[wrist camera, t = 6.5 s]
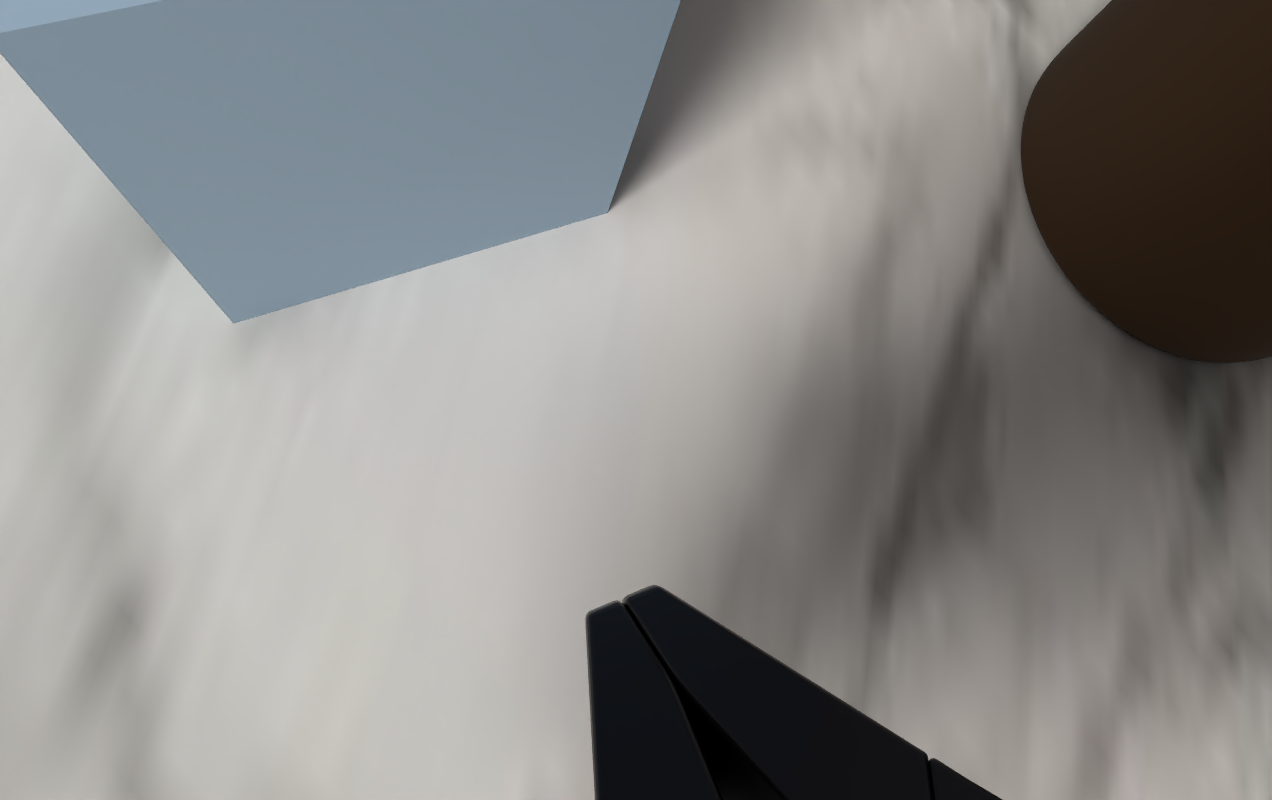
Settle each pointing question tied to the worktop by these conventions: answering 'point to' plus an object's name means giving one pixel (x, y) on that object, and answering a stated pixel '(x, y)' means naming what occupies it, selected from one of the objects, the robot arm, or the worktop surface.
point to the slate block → (343, 125)
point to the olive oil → (1162, 172)
